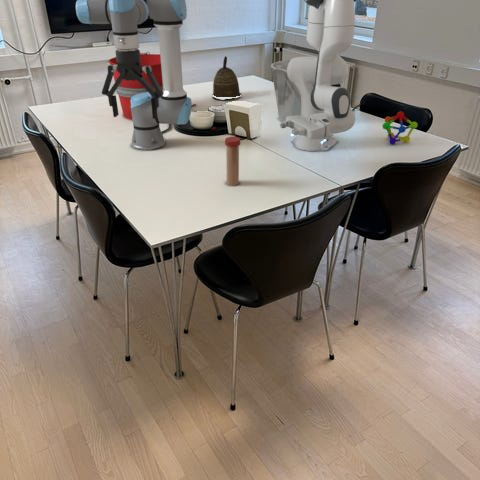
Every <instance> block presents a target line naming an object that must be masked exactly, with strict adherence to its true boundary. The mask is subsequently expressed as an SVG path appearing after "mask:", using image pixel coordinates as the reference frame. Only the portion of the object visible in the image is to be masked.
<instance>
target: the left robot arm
mask: <svg viewBox="0 0 480 480" xmlns="http://www.w3.org/2000/svg"><path fill="white" fill-rule="evenodd" d="M187 11H188V9H187V3H186V0H76V2H75V13H76V17H77V19H78V21H79V22H80V23H82V24H89V25H111V28H112V37H113V43H114V48H115V52H114V53H115V57H116V60H117V66H114V65H113V64H111V65H107V74H106V78H105V81H104V84H103V86H102V90H101V94H102V95H104V96H107V98H108V105H109V107H111V108H112V114H113V118H117V117H118V116H119V115H120V114H119V108H118V107H119V106H118V101H117V95H116V94H115V93H116V91H117V88H118V87H119V85H120V84H121V82H122V81H123V80H125V81H128V80H132V81H135V80H137V81H138V82H140V83H141V84H142V85H143V87H144V88H145V89H146V90H147V91H148V92H145V93H140V94H136V95H134V96H133V97H132V98H131V111H132V118H133V120H132V125H133V132H132V135H131V147H132V148H134V149H135V150H141V151H151V150H153V151H154V150H157V149H161V148H163V147H164V146H165V144H166V140H165V137H164V135H163V133H166V132H168V131H169V130H171V125H177V126H179V125H186V124H188V122H189V120H190V118H191V113H192V107H195V106H197V104H196V103H194V104H192V99H191V97H189V96H188V93H187V91H185V89H184V84H183V67H182V51H181V50H182V49H181V34H180V33H181V31H180V29H181V28H182V26H183V25H184V23H183V21H184V20H186V19H187V15H188V13H187ZM146 20H153V26H154V27H155V28H156V29H157V32H158V44H159V55H160V57H161V69H162V81H163V90H162V89H161V87H160V85H159V83H158V82H157V80H156V78H155V76H154V74H153V73H152V68H151V66H150V65H149V66H146V67H142V65H141V57H140V53H141V50H140V49H139V48H140V42H139V41H140V39H139V31H138V25H141V24H143V23H144V22H146ZM116 70H117V71H118V73H119V74H120V75H119V77H118V78H117V80H116V82H115V81H114V84H112V81H113V79H114V77H113V75H114V72H115V71H116ZM142 71H144V72H145V73H146V74H147V76H148V78H149V80H150V82H151V83H152V85H153V87H154V89H155V90H154V89H153V88H152V86H151V85H150V84H149V83H148V82H147V81H146V79H145V78H144V76H143V75H142V74H141V73H142ZM111 84H112V85H111ZM110 86H111V88H110ZM160 124H161V125H164V124H165V125H168V128H166V129H165V130H161V127H160Z"/></svg>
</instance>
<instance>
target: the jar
mask: <svg viewBox="0 0 480 480" xmlns="http://www.w3.org/2000/svg"><path fill="white" fill-rule="evenodd" d="M225 160H226V161H225V162H226V163H225V166H226V168H225V169H226V185H227V186H231V187H235V186H238V185H239V184H240V145H239V146H236V147H229V146H226V145H225Z"/></svg>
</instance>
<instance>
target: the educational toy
mask: <svg viewBox="0 0 480 480" xmlns="http://www.w3.org/2000/svg"><path fill="white" fill-rule="evenodd" d="M397 119H399V124H400V125H399V127H398V126H393V125H391V124H392V123H394V122H395V121H396V120H397ZM403 120H404V121H405V122H407V123H408V124H409V125H407V126H404V123H403ZM417 127H418V122H417V121H411V120H410V119H409V118H408V117H406V116H405V113H404V112H403V111H401V110H400V111H398V112H397V114H396V115H394V116H391V117H390V116H386V117H385V118H384V122H383V123H382V129H383V130H386V132H387V138H388V142H389V145H395V144H396V143H397V142H402V141H403V142H404V143H409V142H410V140H411V138H410V136H411V134H412V132H413V131H414V130H415V129H417ZM392 129H393V130H397V131H398V132H396V134H395V133H394V132H392ZM408 129H409V131H408V133H407V134H406V135H404V136H401V134H403V133H405V132H406V130H408ZM399 135H400V136H399Z"/></svg>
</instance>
